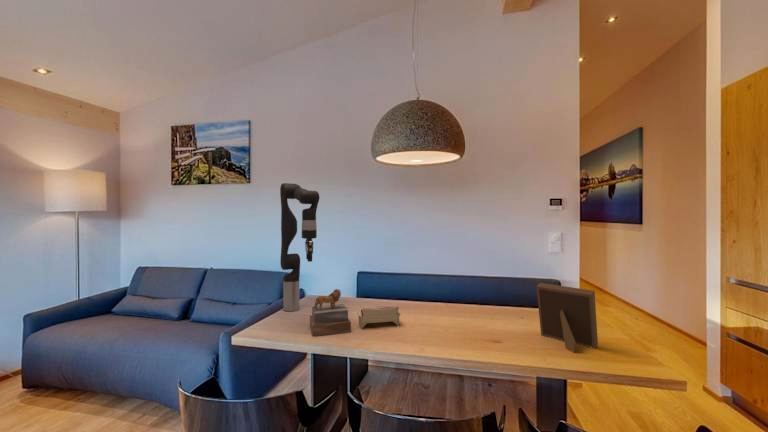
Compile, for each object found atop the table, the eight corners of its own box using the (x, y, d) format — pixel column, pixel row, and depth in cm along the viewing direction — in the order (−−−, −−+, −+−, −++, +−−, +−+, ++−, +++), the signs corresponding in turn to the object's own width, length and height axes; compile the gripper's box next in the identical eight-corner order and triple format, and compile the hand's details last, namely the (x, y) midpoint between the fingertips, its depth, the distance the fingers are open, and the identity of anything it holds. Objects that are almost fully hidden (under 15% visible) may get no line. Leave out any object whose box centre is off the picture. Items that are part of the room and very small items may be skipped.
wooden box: (309, 325, 166) (309, 305, 166) (344, 321, 171) (344, 302, 171) (312, 336, 151) (312, 315, 150) (350, 332, 156) (350, 311, 156)
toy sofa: (396, 320, 173) (396, 301, 173) (400, 326, 165) (400, 306, 165) (357, 324, 168) (357, 304, 168) (360, 329, 160) (359, 309, 160)
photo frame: (544, 332, 154) (544, 280, 154) (597, 346, 139) (598, 288, 138) (532, 342, 144) (532, 286, 144) (588, 357, 129) (588, 295, 128)
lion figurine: (338, 305, 167) (338, 287, 167) (342, 307, 162) (342, 289, 162) (310, 309, 159) (310, 291, 159) (314, 312, 155) (314, 293, 155)
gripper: (300, 228, 173) (300, 258, 173) (302, 229, 159) (302, 262, 160) (315, 228, 175) (315, 258, 175) (318, 229, 162) (318, 261, 162)
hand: (309, 260), depth 167 cm, fingers open, 8 cm apart
